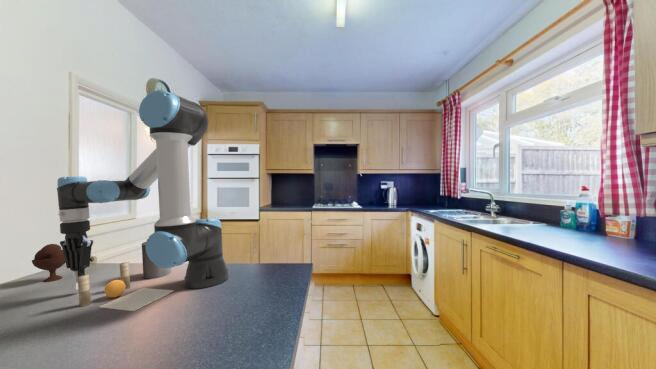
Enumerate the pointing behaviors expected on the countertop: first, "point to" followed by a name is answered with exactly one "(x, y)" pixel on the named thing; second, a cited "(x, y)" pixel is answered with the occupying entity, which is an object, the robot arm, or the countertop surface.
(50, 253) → the ice cream bowl
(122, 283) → the ball
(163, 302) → the countertop surface
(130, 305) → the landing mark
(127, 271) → the right post
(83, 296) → the left post
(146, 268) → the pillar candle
